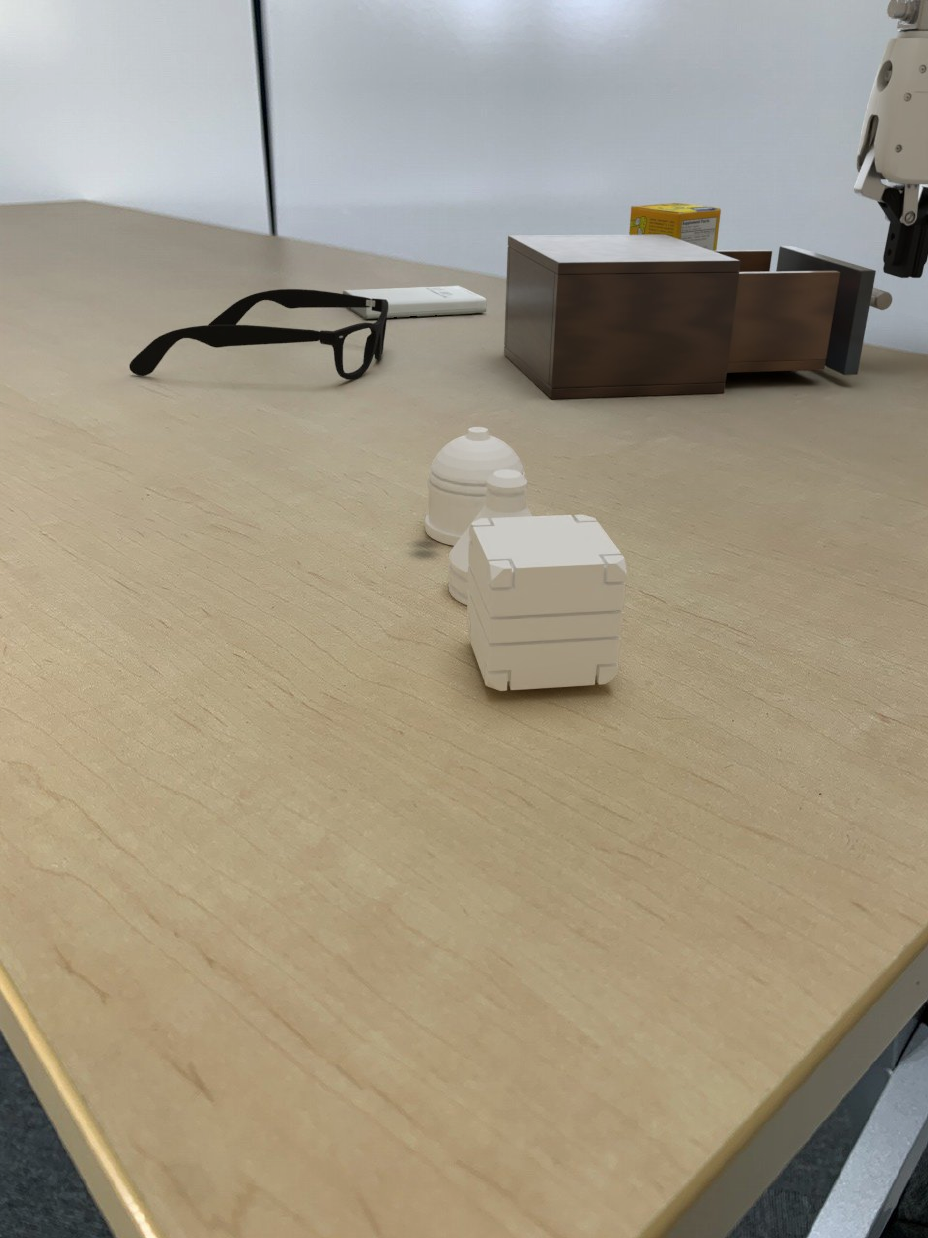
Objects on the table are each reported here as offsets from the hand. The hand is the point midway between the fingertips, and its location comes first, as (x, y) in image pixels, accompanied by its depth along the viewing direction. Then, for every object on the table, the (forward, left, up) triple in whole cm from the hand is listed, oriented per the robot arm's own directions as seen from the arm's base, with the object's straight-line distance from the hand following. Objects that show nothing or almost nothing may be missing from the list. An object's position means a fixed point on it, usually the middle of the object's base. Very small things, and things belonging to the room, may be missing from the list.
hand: (901, 274), depth 90 cm
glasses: (+51, -7, -7) cm, 52 cm away
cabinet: (+25, 0, -7) cm, 26 cm away
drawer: (+11, 0, -6) cm, 12 cm away
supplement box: (+14, -16, -7) cm, 22 cm away
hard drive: (+36, -28, -7) cm, 46 cm away
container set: (+43, +39, -7) cm, 58 cm away
